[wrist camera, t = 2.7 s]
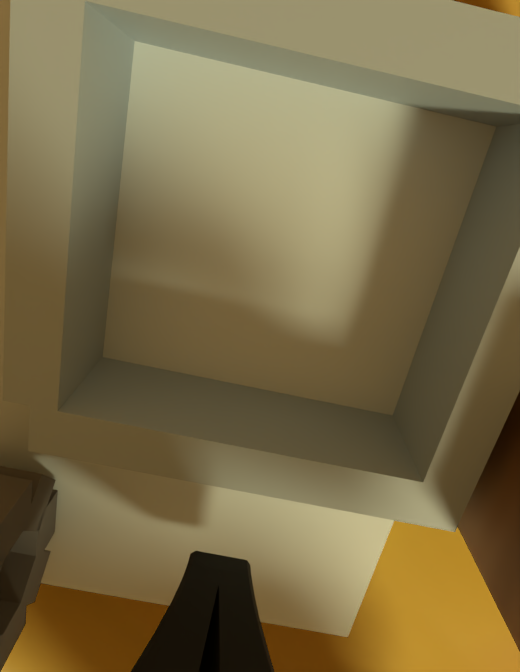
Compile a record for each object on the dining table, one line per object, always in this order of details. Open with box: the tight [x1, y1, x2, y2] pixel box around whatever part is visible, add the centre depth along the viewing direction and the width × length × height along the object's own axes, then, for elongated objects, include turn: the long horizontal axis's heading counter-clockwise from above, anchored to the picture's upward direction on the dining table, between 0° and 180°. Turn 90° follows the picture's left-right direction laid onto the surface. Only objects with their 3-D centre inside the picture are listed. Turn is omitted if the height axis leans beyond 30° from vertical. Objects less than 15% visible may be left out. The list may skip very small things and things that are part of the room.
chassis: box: [0, 0, 520, 637], centre depth 10 cm, size 15×17×5 cm
